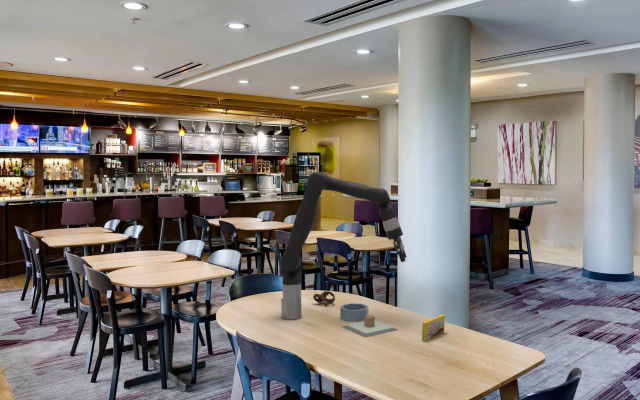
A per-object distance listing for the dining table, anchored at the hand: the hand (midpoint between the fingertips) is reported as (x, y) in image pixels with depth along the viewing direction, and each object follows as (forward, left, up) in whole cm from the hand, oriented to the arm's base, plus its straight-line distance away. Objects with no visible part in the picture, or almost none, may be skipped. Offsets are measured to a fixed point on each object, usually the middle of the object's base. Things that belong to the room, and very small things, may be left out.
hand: (404, 259), depth 253 cm
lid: (-22, -1, -29) cm, 37 cm away
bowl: (-18, +17, -30) cm, 39 cm away
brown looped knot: (-16, +49, -30) cm, 60 cm away
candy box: (-5, -25, -30) cm, 39 cm away
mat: (-22, -1, -30) cm, 37 cm away
